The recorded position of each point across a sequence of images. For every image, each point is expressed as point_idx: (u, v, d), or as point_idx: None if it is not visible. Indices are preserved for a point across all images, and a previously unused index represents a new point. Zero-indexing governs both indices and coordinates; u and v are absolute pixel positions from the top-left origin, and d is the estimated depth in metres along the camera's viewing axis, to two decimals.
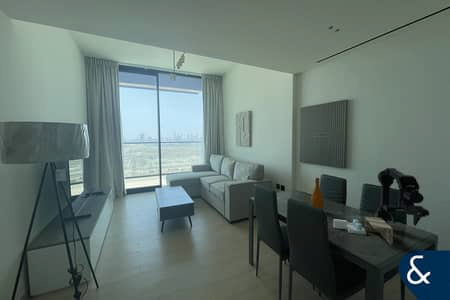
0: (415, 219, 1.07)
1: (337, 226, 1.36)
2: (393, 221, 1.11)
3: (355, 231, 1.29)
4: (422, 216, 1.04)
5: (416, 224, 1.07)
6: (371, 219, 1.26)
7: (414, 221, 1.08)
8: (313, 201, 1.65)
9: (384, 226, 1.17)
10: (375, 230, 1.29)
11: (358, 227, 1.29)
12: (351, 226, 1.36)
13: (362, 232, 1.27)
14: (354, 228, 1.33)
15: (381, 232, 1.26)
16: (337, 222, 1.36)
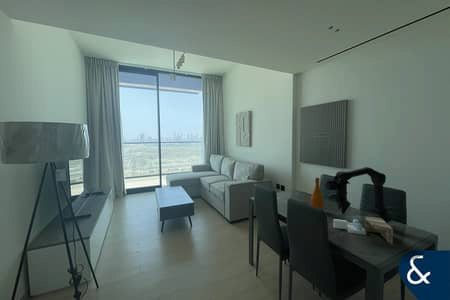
0: None
1: (337, 226, 1.36)
2: None
3: (355, 231, 1.29)
4: (339, 205, 1.30)
5: (342, 212, 1.31)
6: (371, 219, 1.26)
7: None
8: (313, 201, 1.65)
9: (384, 226, 1.17)
10: (375, 230, 1.29)
11: (358, 227, 1.29)
12: (351, 226, 1.36)
13: (362, 232, 1.27)
14: (354, 228, 1.33)
15: (381, 232, 1.26)
16: (337, 222, 1.36)
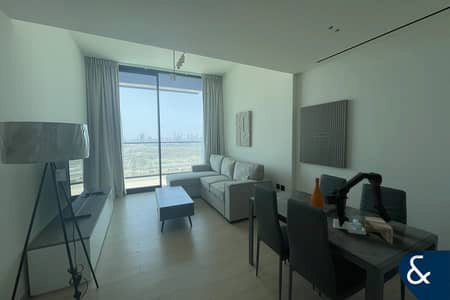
0: None
1: (337, 226, 1.36)
2: None
3: (355, 231, 1.29)
4: (337, 218, 1.34)
5: None
6: (371, 219, 1.26)
7: None
8: (313, 201, 1.65)
9: (384, 226, 1.17)
10: (375, 230, 1.29)
11: (358, 227, 1.29)
12: (351, 226, 1.36)
13: (362, 232, 1.27)
14: (354, 228, 1.33)
15: (381, 232, 1.26)
16: (337, 222, 1.36)
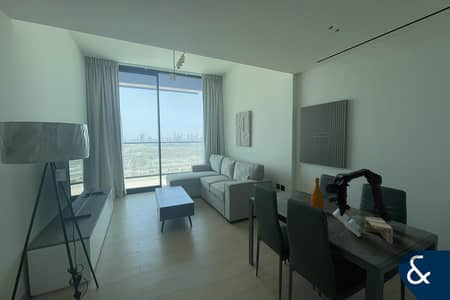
0: None
1: (337, 216, 1.29)
2: None
3: (352, 229, 1.24)
4: None
5: (340, 214, 1.28)
6: (371, 219, 1.26)
7: None
8: (313, 201, 1.65)
9: (384, 226, 1.17)
10: (375, 230, 1.29)
11: (356, 227, 1.25)
12: (346, 223, 1.32)
13: (357, 233, 1.24)
14: (349, 226, 1.29)
15: (381, 232, 1.26)
16: None
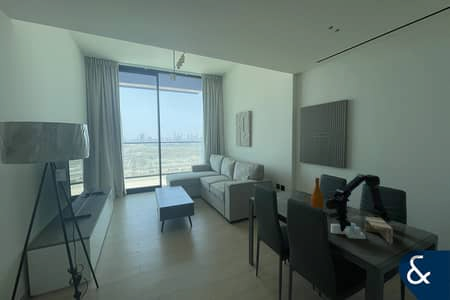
0: None
1: (335, 231, 1.29)
2: None
3: (354, 236, 1.22)
4: (338, 222, 1.26)
5: (341, 230, 1.28)
6: (371, 219, 1.26)
7: None
8: (313, 201, 1.65)
9: (384, 226, 1.17)
10: (375, 230, 1.29)
11: (357, 231, 1.23)
12: (348, 230, 1.30)
13: (361, 236, 1.22)
14: (352, 232, 1.27)
15: (381, 232, 1.26)
16: (335, 227, 1.29)
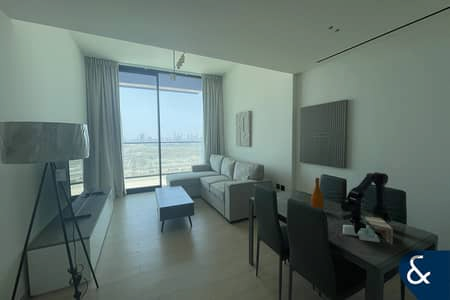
0: None
1: (347, 232, 1.27)
2: None
3: (367, 238, 1.19)
4: (352, 224, 1.24)
5: (355, 232, 1.25)
6: (371, 219, 1.26)
7: None
8: (313, 201, 1.65)
9: (384, 226, 1.17)
10: (375, 230, 1.29)
11: (370, 234, 1.20)
12: (362, 232, 1.27)
13: (375, 239, 1.18)
14: (366, 235, 1.24)
15: (381, 232, 1.26)
16: (347, 228, 1.27)
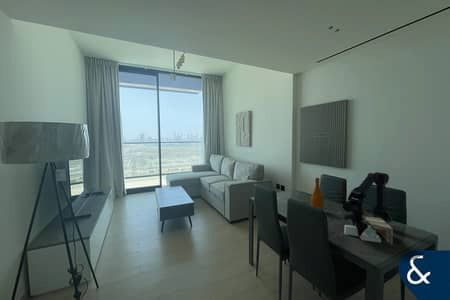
0: None
1: (349, 233, 1.27)
2: None
3: (369, 238, 1.19)
4: (355, 226, 1.21)
5: (358, 234, 1.22)
6: (371, 219, 1.26)
7: None
8: (313, 201, 1.65)
9: (384, 226, 1.17)
10: (375, 230, 1.29)
11: (372, 234, 1.20)
12: (364, 233, 1.27)
13: (376, 240, 1.18)
14: (367, 235, 1.24)
15: (381, 232, 1.26)
16: (349, 228, 1.27)
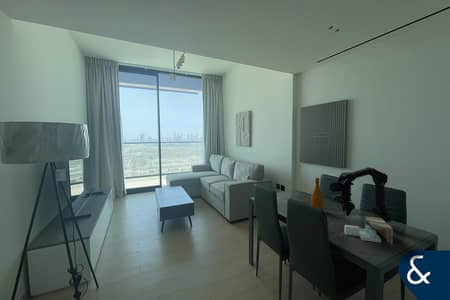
0: None
1: (349, 233, 1.27)
2: None
3: (369, 238, 1.19)
4: (343, 207, 1.27)
5: (346, 214, 1.28)
6: (371, 219, 1.26)
7: None
8: (313, 201, 1.65)
9: (384, 226, 1.17)
10: (375, 230, 1.29)
11: (372, 234, 1.20)
12: (364, 233, 1.27)
13: (376, 240, 1.18)
14: (367, 235, 1.24)
15: (381, 232, 1.26)
16: (349, 228, 1.27)
